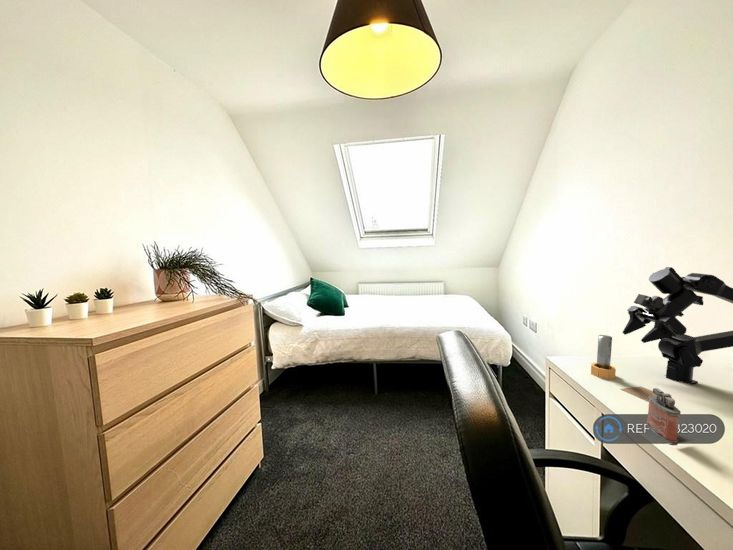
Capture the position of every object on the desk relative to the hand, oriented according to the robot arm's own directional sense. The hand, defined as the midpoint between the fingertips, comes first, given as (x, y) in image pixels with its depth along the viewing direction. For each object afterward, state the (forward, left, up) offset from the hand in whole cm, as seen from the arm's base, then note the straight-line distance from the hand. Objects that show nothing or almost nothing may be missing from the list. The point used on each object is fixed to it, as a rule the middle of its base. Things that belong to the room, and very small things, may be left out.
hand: (632, 337), depth 107 cm
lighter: (+25, +27, -14) cm, 39 cm away
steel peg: (+7, -3, -13) cm, 15 cm away
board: (+9, +11, -14) cm, 20 cm away
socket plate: (+8, -3, -14) cm, 16 cm away
